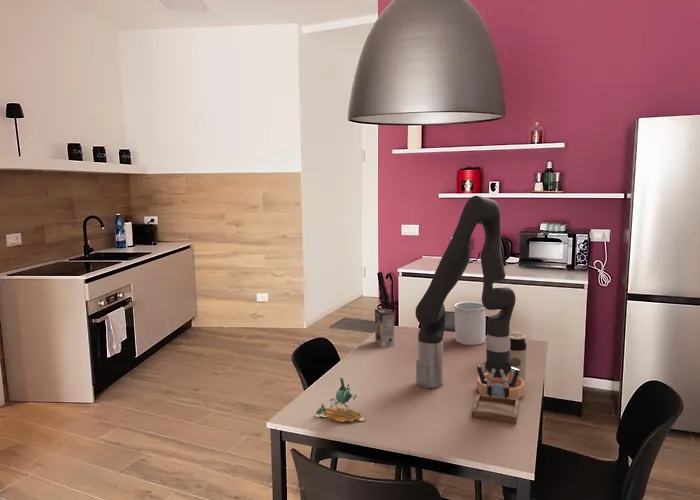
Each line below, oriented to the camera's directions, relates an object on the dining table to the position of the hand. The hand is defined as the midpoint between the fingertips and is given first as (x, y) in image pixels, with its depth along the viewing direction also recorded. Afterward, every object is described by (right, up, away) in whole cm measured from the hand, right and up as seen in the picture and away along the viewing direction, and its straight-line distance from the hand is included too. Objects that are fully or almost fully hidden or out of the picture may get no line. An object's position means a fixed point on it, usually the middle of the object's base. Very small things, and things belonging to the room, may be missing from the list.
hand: (498, 396), depth 174 cm
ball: (0, +2, 0) cm, 2 cm away
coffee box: (-33, +4, +73) cm, 80 cm away
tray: (-1, -5, +1) cm, 5 cm away
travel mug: (+14, -1, +26) cm, 29 cm away
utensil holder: (+8, +5, +75) cm, 75 cm away
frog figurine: (-53, -7, -1) cm, 53 cm away
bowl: (+6, -3, +17) cm, 18 cm away
